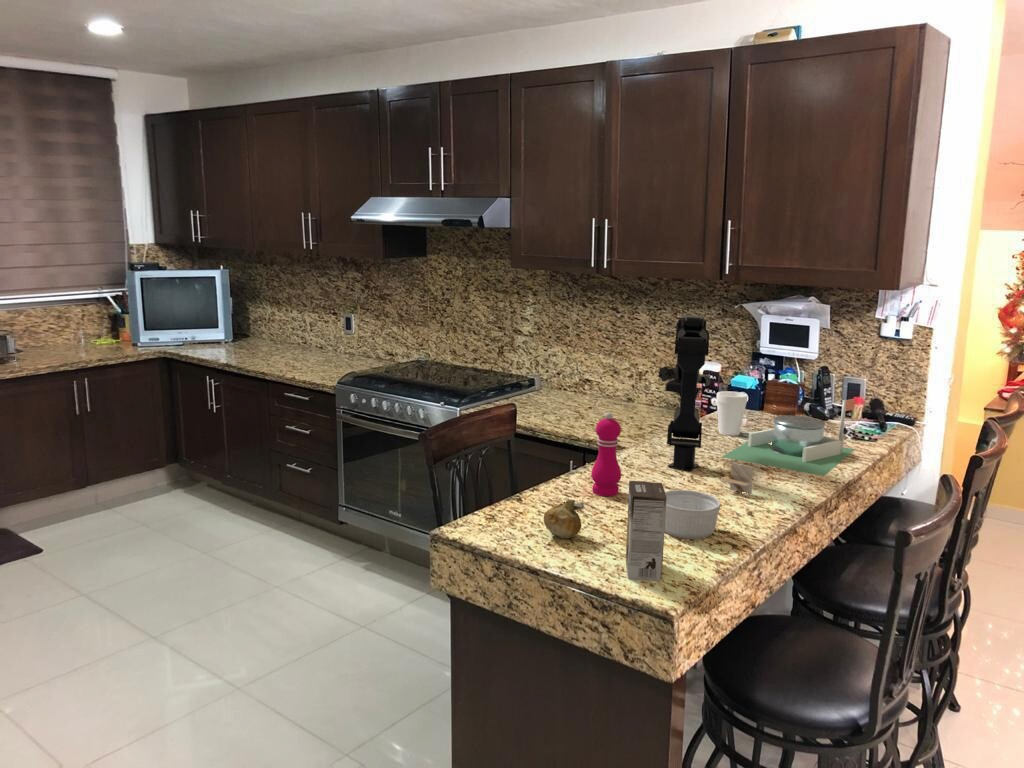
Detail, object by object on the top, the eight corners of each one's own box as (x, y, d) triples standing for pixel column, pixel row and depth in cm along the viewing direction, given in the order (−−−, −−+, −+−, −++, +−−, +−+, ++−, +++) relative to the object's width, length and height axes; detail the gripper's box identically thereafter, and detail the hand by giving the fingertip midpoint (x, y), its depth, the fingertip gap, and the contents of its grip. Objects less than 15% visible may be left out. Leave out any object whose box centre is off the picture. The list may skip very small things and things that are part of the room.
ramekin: (730, 539, 166) (732, 507, 165) (673, 544, 162) (675, 512, 161) (698, 517, 179) (700, 487, 177) (645, 522, 175) (646, 491, 174)
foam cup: (747, 437, 251) (750, 397, 248) (718, 437, 251) (721, 396, 248) (739, 430, 260) (742, 391, 258) (711, 429, 260) (714, 390, 258)
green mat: (824, 476, 211) (824, 476, 211) (721, 457, 227) (721, 456, 227) (855, 449, 239) (855, 449, 239) (761, 434, 255) (761, 433, 255)
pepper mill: (603, 485, 199) (606, 408, 195) (626, 492, 194) (630, 413, 190) (584, 491, 194) (587, 412, 190) (607, 499, 189) (611, 417, 185)
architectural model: (745, 499, 193) (747, 470, 191) (719, 493, 197) (721, 464, 196) (751, 496, 195) (754, 467, 194) (725, 489, 200) (727, 461, 198)
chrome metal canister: (812, 459, 226) (815, 429, 225) (764, 450, 235) (766, 421, 233) (828, 450, 237) (831, 420, 235) (782, 441, 246) (784, 413, 244)
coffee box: (624, 559, 154) (628, 479, 151) (657, 561, 154) (662, 481, 151) (626, 579, 145) (631, 495, 142) (662, 581, 145) (667, 497, 142)
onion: (550, 527, 170) (551, 491, 169) (586, 533, 167) (587, 497, 166) (537, 539, 163) (538, 502, 162) (574, 545, 160) (576, 508, 159)
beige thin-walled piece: (804, 462, 224) (810, 406, 221) (747, 446, 240) (752, 394, 237) (850, 451, 236) (856, 399, 233) (793, 437, 252) (798, 387, 249)
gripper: (677, 352, 239) (674, 403, 242) (649, 359, 224) (646, 413, 227) (712, 356, 232) (709, 408, 235) (686, 364, 217) (683, 419, 220)
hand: (686, 412), depth 230 cm, fingers closed
